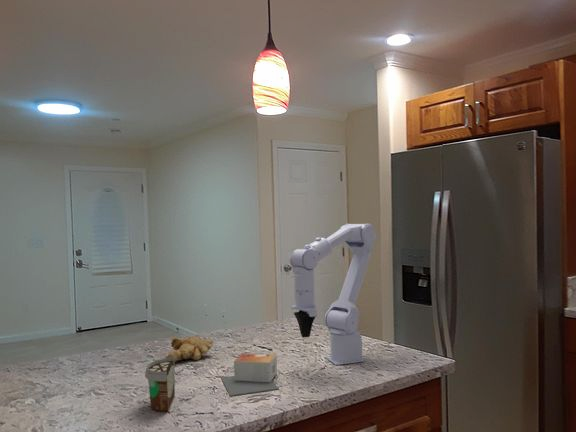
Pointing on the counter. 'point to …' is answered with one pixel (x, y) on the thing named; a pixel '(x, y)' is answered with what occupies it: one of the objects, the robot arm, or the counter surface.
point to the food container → (161, 384)
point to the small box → (255, 367)
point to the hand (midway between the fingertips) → (305, 336)
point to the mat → (246, 386)
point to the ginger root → (189, 348)
